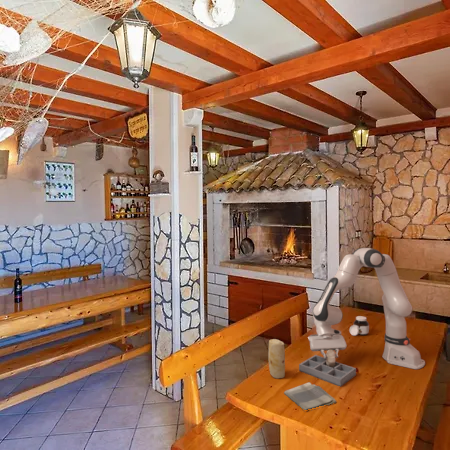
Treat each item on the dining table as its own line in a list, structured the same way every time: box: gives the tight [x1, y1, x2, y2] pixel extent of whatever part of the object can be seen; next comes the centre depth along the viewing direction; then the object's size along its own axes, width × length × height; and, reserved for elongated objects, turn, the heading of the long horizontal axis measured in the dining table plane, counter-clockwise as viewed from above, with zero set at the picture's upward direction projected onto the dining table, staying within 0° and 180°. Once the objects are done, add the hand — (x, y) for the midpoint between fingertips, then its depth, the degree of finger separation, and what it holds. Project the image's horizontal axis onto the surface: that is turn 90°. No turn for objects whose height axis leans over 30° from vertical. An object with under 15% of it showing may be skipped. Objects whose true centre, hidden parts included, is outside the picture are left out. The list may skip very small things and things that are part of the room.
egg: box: [325, 350, 336, 368], centre depth 201 cm, size 5×5×10 cm
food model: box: [267, 338, 286, 379], centre depth 196 cm, size 10×7×20 cm
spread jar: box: [348, 315, 370, 337], centre depth 253 cm, size 12×11×12 cm
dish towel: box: [283, 381, 337, 411], centre depth 174 cm, size 19×18×3 cm
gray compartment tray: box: [298, 354, 357, 388], centre depth 198 cm, size 25×17×4 cm
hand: (331, 357), depth 200 cm, fingers closed on egg, 5 cm apart
